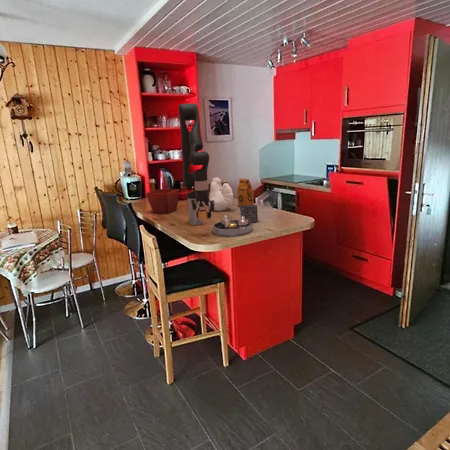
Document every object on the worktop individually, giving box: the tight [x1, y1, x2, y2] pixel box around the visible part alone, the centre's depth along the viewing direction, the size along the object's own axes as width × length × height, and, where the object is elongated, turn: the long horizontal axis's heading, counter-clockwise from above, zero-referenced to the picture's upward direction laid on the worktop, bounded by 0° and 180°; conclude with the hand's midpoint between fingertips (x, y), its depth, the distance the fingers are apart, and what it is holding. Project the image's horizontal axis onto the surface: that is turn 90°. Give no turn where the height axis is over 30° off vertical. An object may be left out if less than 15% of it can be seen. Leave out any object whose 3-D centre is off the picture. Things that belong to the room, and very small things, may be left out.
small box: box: [239, 204, 259, 224], centre depth 217 cm, size 11×6×10 cm, turn 81°
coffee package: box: [236, 178, 255, 208], centre depth 263 cm, size 10×12×22 cm
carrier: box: [212, 215, 253, 238], centre depth 198 cm, size 23×23×8 cm
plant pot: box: [145, 188, 180, 214], centre depth 265 cm, size 19×19×17 cm
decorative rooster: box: [209, 177, 234, 212], centre depth 255 cm, size 25×16×25 cm, turn 26°
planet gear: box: [198, 208, 210, 222], centre depth 192 cm, size 6×6×5 cm
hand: (204, 217), depth 192 cm, fingers closed on planet gear, 6 cm apart
